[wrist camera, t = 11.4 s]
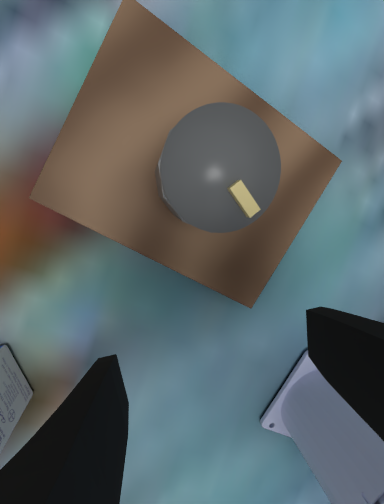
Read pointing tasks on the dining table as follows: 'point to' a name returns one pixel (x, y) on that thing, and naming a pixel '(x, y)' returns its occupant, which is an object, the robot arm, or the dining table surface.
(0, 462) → the dining table surface
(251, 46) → the dining table surface
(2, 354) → the medicine box
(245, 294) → the post board
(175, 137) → the cap
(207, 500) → the dining table surface
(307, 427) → the robot arm
